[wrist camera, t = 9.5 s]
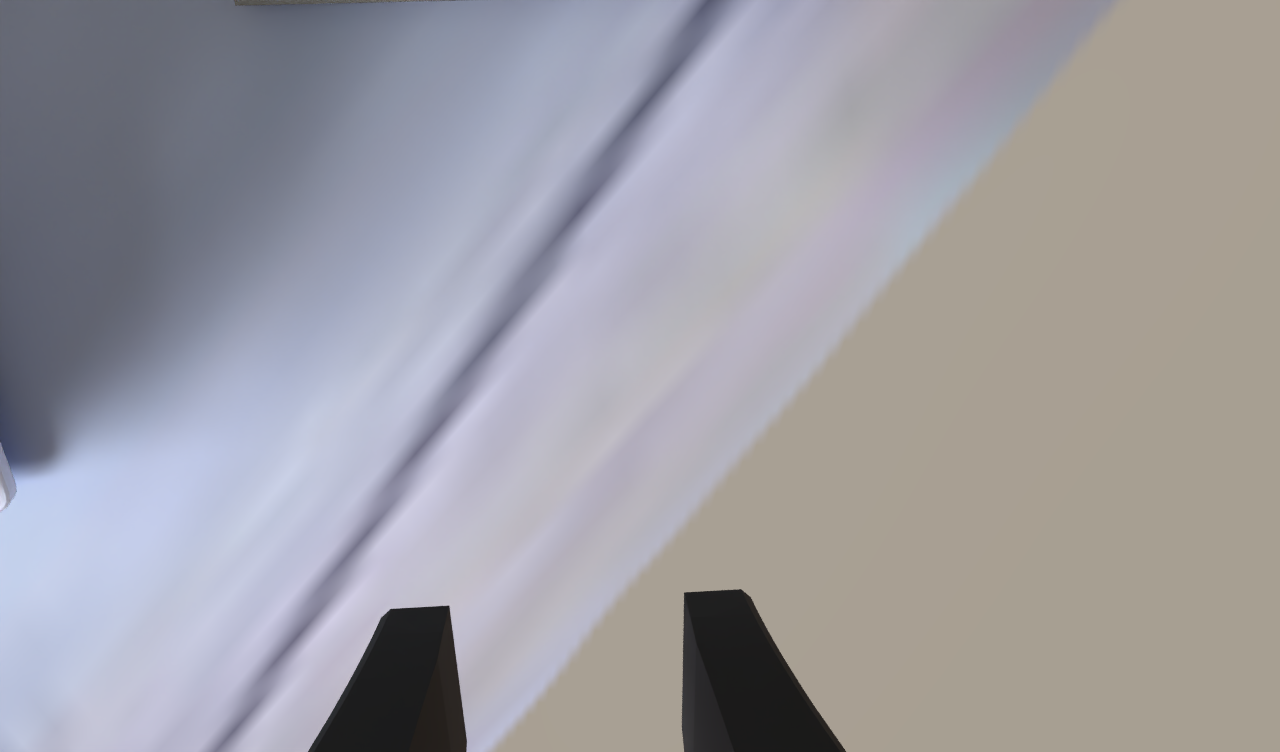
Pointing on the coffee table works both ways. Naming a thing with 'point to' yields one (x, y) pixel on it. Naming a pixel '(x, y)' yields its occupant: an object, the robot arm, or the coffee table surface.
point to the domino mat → (315, 1)
